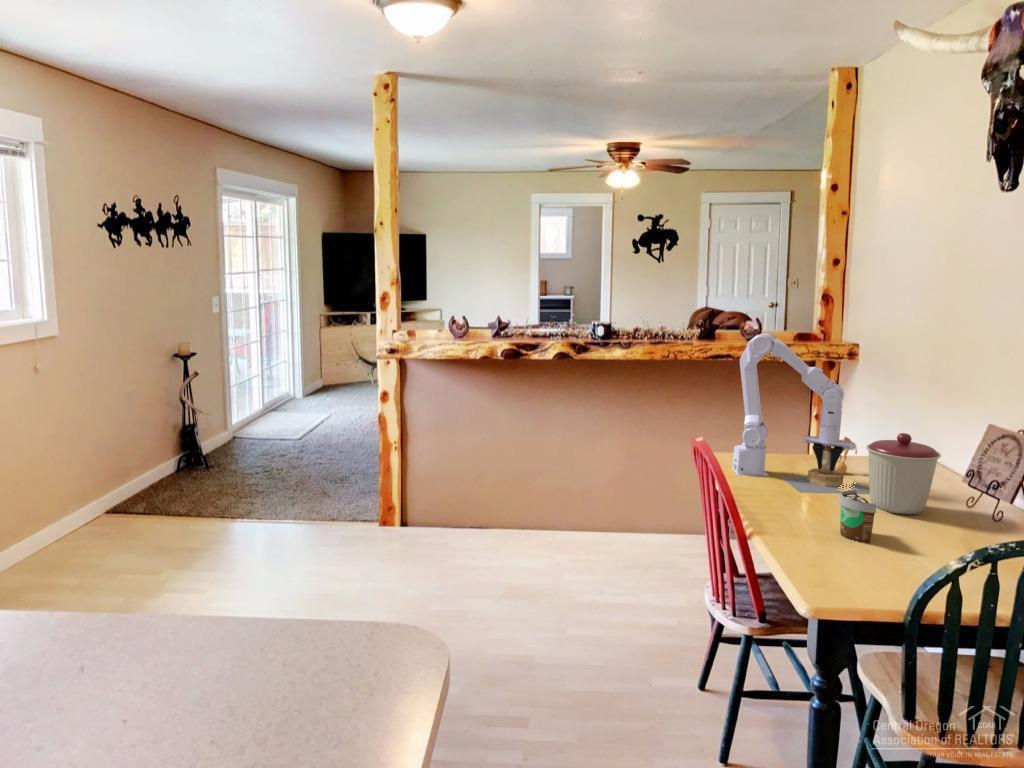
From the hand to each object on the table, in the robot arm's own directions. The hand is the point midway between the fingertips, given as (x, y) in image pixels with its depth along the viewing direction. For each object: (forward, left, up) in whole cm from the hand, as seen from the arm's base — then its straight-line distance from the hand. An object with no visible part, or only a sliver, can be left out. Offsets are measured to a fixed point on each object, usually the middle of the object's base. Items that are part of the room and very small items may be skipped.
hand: (826, 469), depth 238 cm
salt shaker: (0, 0, -2) cm, 2 cm away
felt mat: (-1, -3, -4) cm, 5 cm away
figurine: (+10, +12, -5) cm, 16 cm away
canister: (+10, -24, -5) cm, 26 cm away
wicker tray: (0, 0, -4) cm, 4 cm away
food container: (-13, -47, -5) cm, 49 cm away
